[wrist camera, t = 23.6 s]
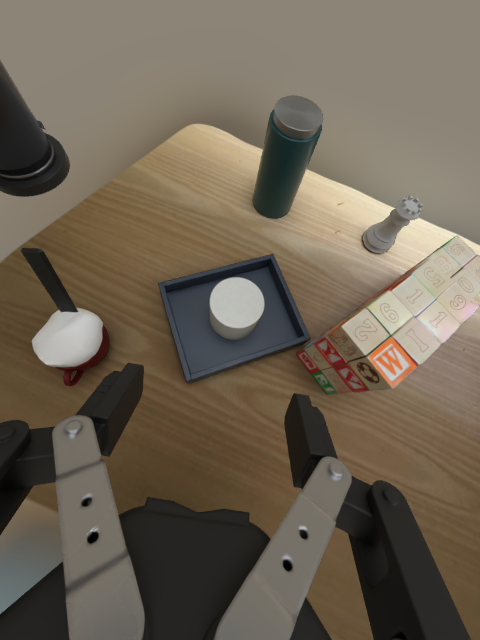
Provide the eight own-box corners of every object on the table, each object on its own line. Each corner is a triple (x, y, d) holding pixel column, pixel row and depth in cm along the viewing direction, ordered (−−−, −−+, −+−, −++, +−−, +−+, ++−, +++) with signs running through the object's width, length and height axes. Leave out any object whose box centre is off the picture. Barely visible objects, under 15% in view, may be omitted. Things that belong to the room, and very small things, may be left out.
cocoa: (93, 392, 29) (17, 382, 17) (40, 372, 29) (-68, 348, 18) (134, 317, 32) (93, 268, 21) (87, 299, 32) (21, 240, 21)
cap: (218, 346, 31) (219, 335, 27) (203, 302, 33) (202, 284, 28) (263, 331, 33) (272, 318, 28) (247, 290, 34) (253, 271, 30)
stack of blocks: (402, 273, 39) (485, 215, 27) (432, 306, 37) (533, 260, 26) (294, 354, 33) (341, 325, 21) (326, 396, 31) (394, 389, 20)
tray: (188, 383, 30) (186, 381, 28) (161, 291, 33) (157, 282, 31) (303, 343, 33) (311, 338, 31) (269, 263, 37) (273, 253, 34)
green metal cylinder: (260, 222, 39) (284, 136, 26) (247, 191, 40) (263, 96, 28) (296, 214, 40) (335, 128, 28) (281, 184, 42) (312, 90, 29)
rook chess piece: (361, 227, 41) (395, 186, 33) (388, 233, 41) (428, 193, 33) (361, 251, 39) (397, 214, 31) (389, 257, 39) (432, 221, 32)
